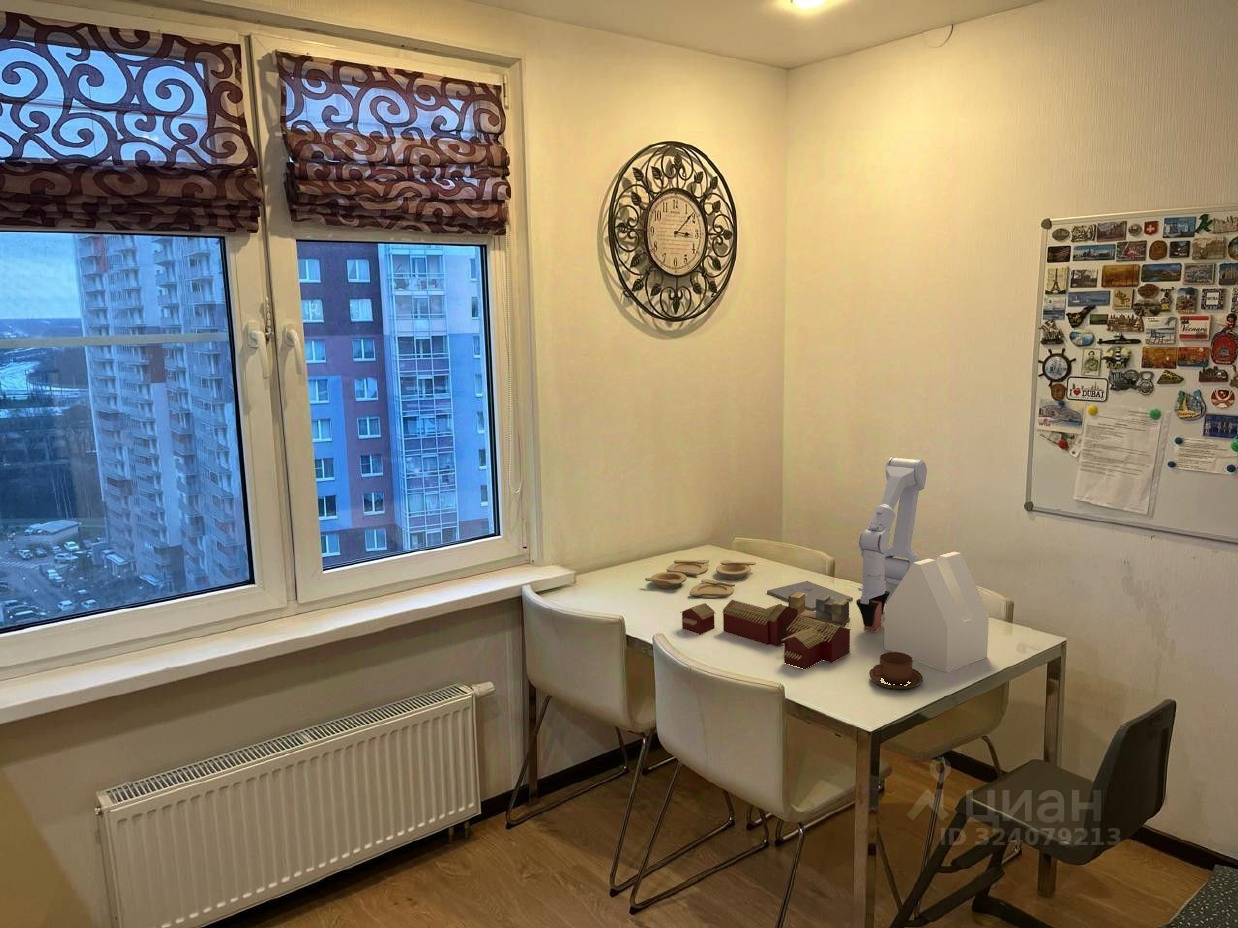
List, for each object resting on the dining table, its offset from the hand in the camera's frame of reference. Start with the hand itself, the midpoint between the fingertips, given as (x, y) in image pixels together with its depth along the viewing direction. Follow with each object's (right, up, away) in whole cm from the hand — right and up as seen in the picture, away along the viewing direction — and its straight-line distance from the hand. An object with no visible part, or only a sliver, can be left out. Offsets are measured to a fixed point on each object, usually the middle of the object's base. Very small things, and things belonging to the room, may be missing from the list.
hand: (872, 621), depth 246 cm
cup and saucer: (-4, -9, -33) cm, 35 cm away
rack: (-13, -1, +9) cm, 16 cm away
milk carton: (+11, -5, -17) cm, 21 cm away
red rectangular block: (0, -2, 0) cm, 2 cm away
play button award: (-12, +2, +27) cm, 30 cm away
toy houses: (-31, -5, -5) cm, 32 cm away
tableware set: (-43, +4, +47) cm, 64 cm away
